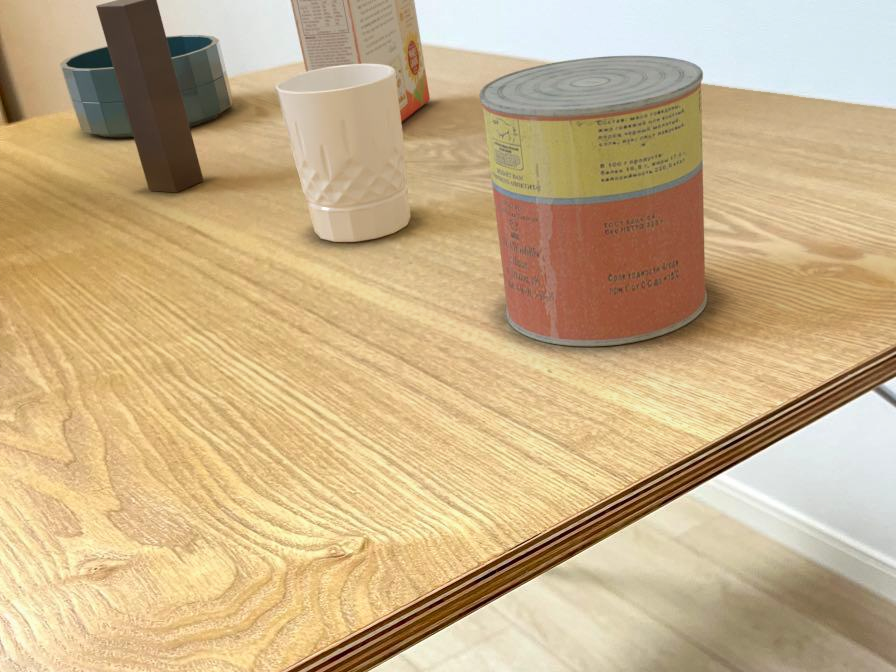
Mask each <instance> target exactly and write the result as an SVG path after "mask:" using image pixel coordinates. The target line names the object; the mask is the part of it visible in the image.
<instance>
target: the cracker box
mask: <svg viewBox="0 0 896 672" xmlns="http://www.w3.org/2000/svg"><path fill="white" fill-rule="evenodd" d="M290 4H291V9H292V14H293V19H294V22H295V27H296V32H297V37H298V42H299V46H300V51H301V56H302V58H303V59H302V60H303V64H304V70H305V72H307V71H311V70H315V69H320V68H326V67H332V66H340V65H349V64H383V65H388V66H391V67H393V68H394V69H395V72H396V81H397V90H398V98H399V107H400V115H401V123H402V122H404V121H405V120H407V119H408V118H409V117H410V116H411V115H413V114H414V113H415V112H416V111H418V110H419V109H420V108H422V107H423V106H424V105H425V104H427V103H428V102H429V101H430V99H431V98H430V91H429V84H428V79H427V73H426V66H425V58H424V53H423V52H424V51H423V46H422V39H421V33H420V27H419V21H418V15H417V9H416V1H415V0H290Z"/></svg>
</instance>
